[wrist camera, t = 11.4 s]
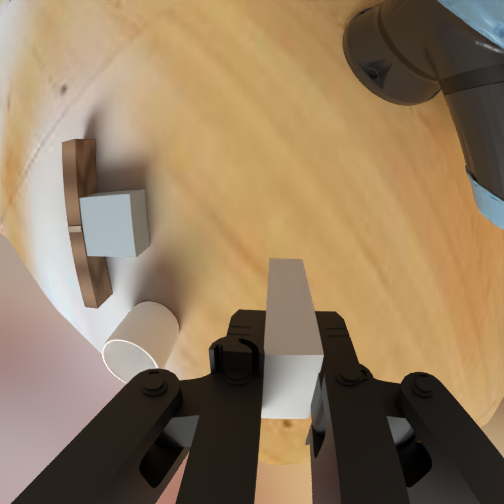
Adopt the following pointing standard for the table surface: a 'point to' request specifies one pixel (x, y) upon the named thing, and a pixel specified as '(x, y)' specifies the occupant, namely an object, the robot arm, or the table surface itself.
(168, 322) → the mug
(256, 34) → the table surface
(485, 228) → the table surface
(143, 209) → the block
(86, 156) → the board
